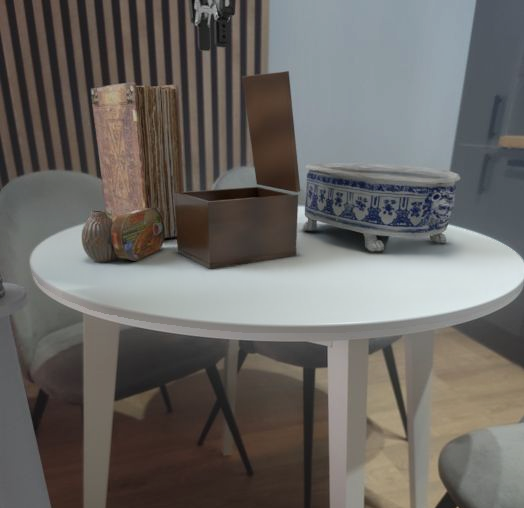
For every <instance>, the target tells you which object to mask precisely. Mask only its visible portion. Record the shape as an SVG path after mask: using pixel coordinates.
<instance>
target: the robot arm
mask: <svg viewBox="0 0 524 508" xmlns="http://www.w3.org/2000/svg"><path fill="white" fill-rule="evenodd" d="M236 2H237V0H188V9H189V19H190V20H189V21H190V23H191V24H194V25H195V26H196V31H197V32H196V33H197V49H198V50H199V51H201V52H209V51H210V50H211V27H210V25H211V18H212V15H213V18H214V23H213V27H214V28H213V29H214V31H213V32H214V46H215V47H216V48H227V47H228V42H229V39H228V38H229V37H228V22H230V20H231V16H232V17H233V16H235V15H236ZM3 282H4V281H3V278H2V275H1V273H0V298H2V297H3V296H4V295H5V289H4V286H3V284H2V283H3Z"/></svg>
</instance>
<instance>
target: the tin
mask: <svg viewBox="0 0 524 508" xmlns="http://www.w3.org/2000/svg"><path fill="white" fill-rule="evenodd" d="M111 236H112V243H113V247H114V251H115V253H116V254H117V257H118V258H120V259H121V260H124V261H133V262H137V261H140V260H142V259H144V258H146V257H148V256H150V255H152V254H154V253H157V252H158V251H160V250H161V248H162V247H163V244H164V241H165V238H164V236H165V228H164V222H163V219H162V216H161V214H160V213H159V211H158V210H157V209H155V208H143V209H139V210H136V211H133V212H130V213H126V214H123V215H120V216H118V217H117V218H116V219H115V220H114V222H113V225H112V228H111Z"/></svg>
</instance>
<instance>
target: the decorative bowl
mask: <svg viewBox="0 0 524 508" xmlns="http://www.w3.org/2000/svg"><path fill="white" fill-rule="evenodd" d="M305 169H306V170H308V172H307V174H306V185H305V186H306V188H305V189H306V193H305V205H304V216H305V218H307V220H306V221H307V222H305V224H303V228H302V231H303V232H307V231H310V232H312V231H316V230H317V229H318V224H317V223H318V222H319V223H322V224H325V225H329V226H332V227H335V228H339V229H343V230H347V231H348V230H349V231H352V232H356V233H360V234H362V235H363V237H364V247H365V249H367V250H368V251H370V252H380V251H384V250H385V244H384V243H383V240H380V239H378V238H377V236H380V237H381V236H383V237H397V238H424V237H429V240H430V241H432V242H433V243H438V244H443V245H444V244H446V243H447V240H448V239H447V236H446V234H445V232H446V231H447V229H448V226H449V223H450V218H451V216H452V210H453V208H454V206H455V202H456V199H455V197H456V194H455V192H456V189H457V185H456V182H459V181H460V180H461V176H460V174H459V173H456V172H454V171H451V170H446V169H439V168H433V167H425V166H413V165H403V164H401V165H400V164H385V163H360V162H358V163H357V162H355V163H354V162H353V163H351V162H348V163H347V162H346V163H343V162H341V163H340V162H339V163H309V164H306V165H305Z"/></svg>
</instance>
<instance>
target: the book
mask: <svg viewBox="0 0 524 508" xmlns="http://www.w3.org/2000/svg"><path fill="white" fill-rule="evenodd" d="M90 96H91V97H90V98H91V104H92V105H91V106H92V113H93V121H94V128H95V129H94V130H95V137H96V138H95V139H96V145H97V154H98V160H99V161H98V163H99V169H100V175H101V177H100V178H101V186H102V192H103V201H104V209H105V210H104V211H105V212H106V214H107V216H108V217H109V218H110V219H111V220H112V221H113V222H114V220H115V219H116V218H117V217H118V216H120V215H123V214H126V213H130V212H133V211H136V210H139V209H143V208H155V209H157V210H158V211H159V213H160V214H161V216H162V219H163V222H164V228H165V236H164V239H167V238H168V239H169V238H177V230H176V214H175V198H174V192H185V183H184V182H185V180H184V163H183V144H182V143H183V142H182V127H181V125H182V124H181V107H180V89H179V84H166V85H157V86H151V85H137V83H136V82H134V81H132V82H125V83H116V84H109V85H103V86H93V87H91V88H90Z"/></svg>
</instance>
